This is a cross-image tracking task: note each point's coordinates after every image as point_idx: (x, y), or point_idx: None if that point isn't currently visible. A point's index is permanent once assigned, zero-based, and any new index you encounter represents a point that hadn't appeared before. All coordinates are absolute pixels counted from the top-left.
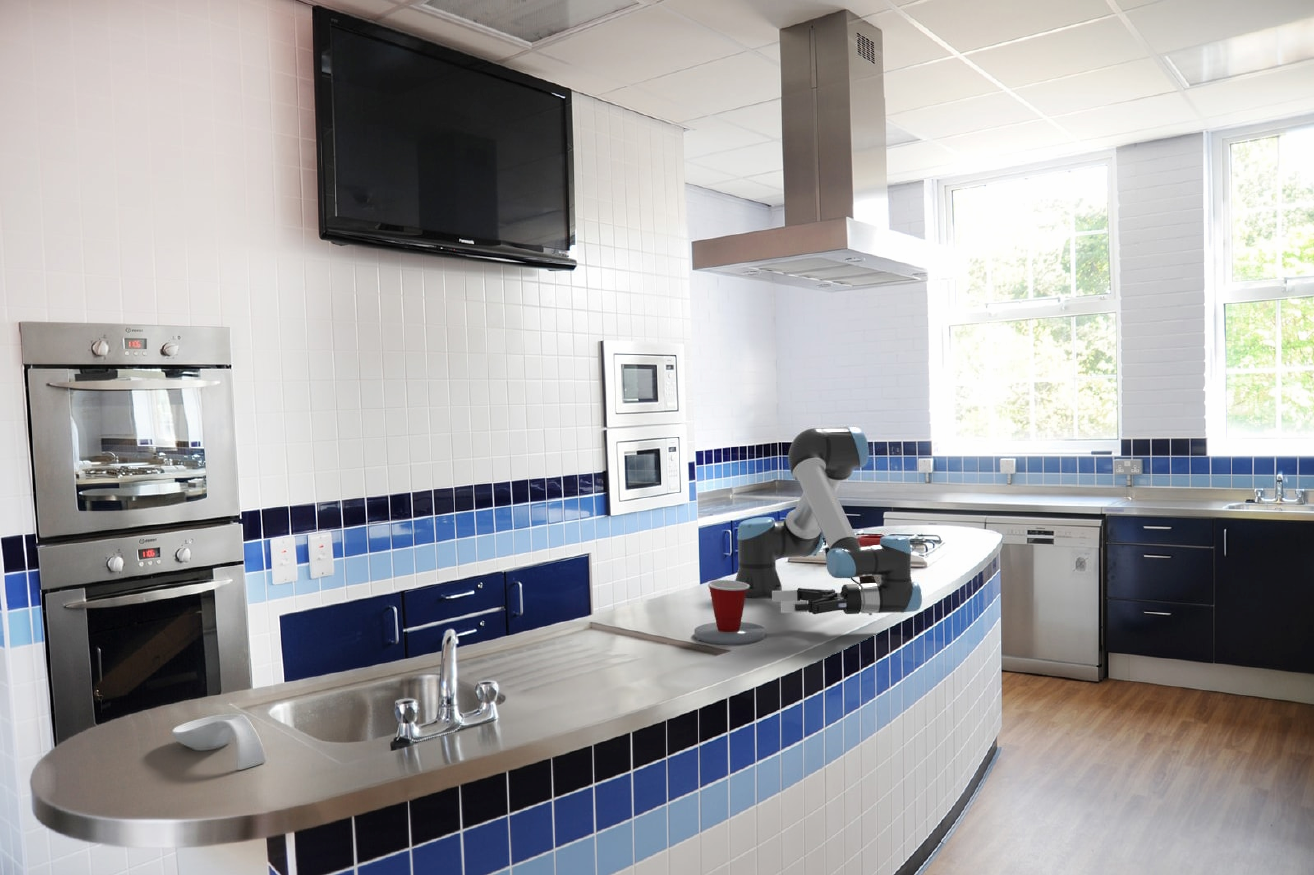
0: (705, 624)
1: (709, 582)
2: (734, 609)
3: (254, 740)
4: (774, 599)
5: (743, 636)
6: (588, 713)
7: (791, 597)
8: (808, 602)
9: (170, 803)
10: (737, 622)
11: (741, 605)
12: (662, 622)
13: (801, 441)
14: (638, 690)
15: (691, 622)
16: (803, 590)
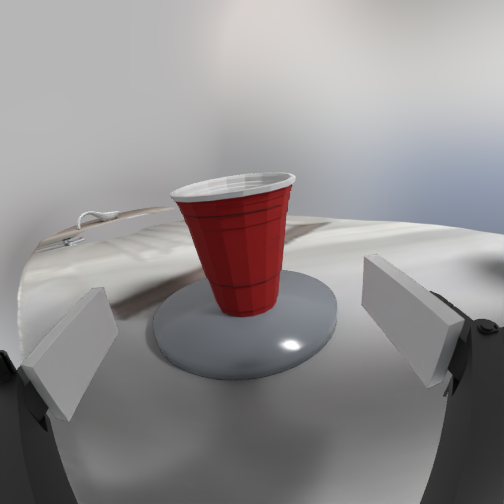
0: (299, 273)
1: (247, 174)
2: (198, 253)
3: (78, 220)
4: (365, 299)
5: (165, 324)
6: (40, 263)
7: (413, 344)
8: (9, 367)
9: (65, 230)
10: (217, 293)
11: (207, 251)
12: (347, 248)
13: None
14: (53, 272)
15: (360, 266)
16: (495, 355)
